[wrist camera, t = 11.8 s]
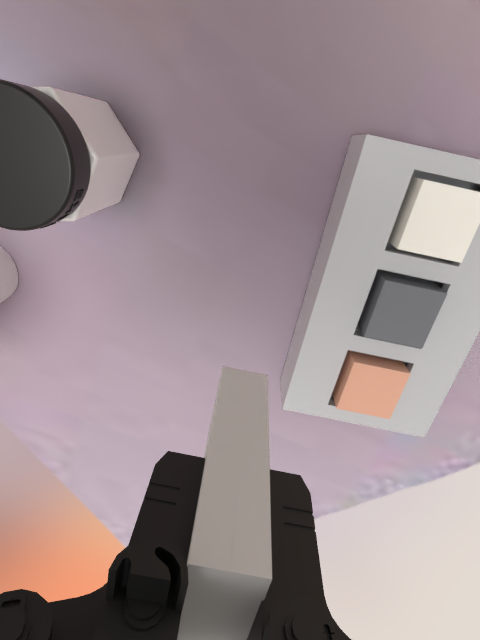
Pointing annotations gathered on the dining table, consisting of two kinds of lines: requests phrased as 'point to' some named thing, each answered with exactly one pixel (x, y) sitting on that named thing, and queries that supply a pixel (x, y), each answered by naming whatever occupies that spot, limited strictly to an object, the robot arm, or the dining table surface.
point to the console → (356, 280)
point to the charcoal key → (401, 309)
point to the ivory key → (436, 220)
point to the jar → (58, 156)
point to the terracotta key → (370, 384)
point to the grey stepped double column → (7, 275)
